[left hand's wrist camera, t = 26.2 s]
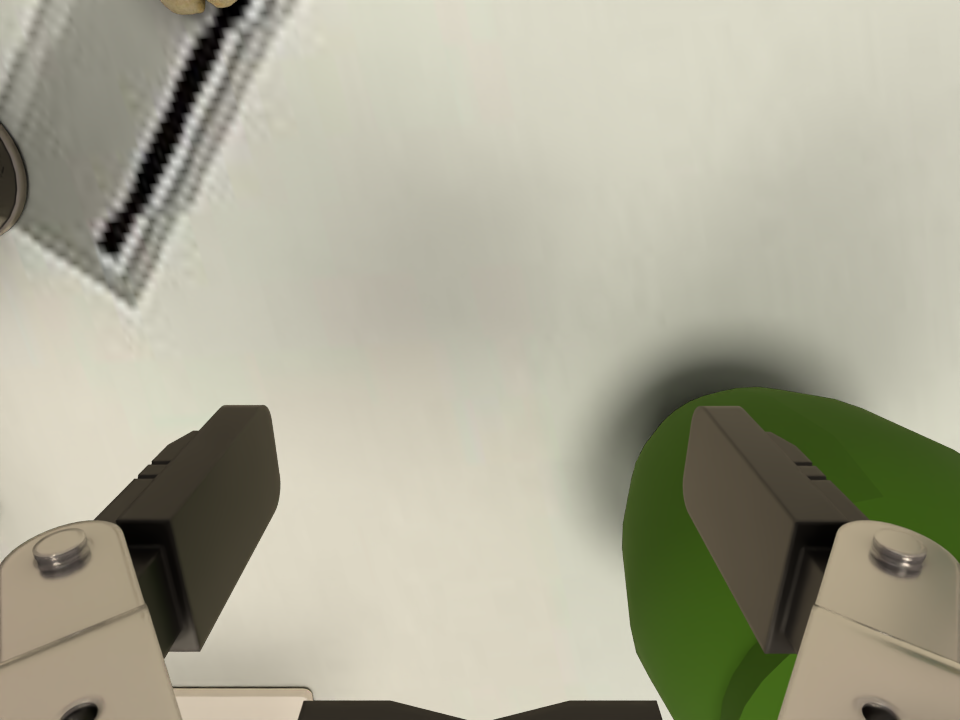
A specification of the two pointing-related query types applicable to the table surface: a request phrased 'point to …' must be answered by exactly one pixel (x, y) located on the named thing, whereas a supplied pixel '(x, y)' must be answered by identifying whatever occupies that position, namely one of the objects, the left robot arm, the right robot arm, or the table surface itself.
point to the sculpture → (193, 5)
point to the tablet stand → (241, 703)
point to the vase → (695, 576)
